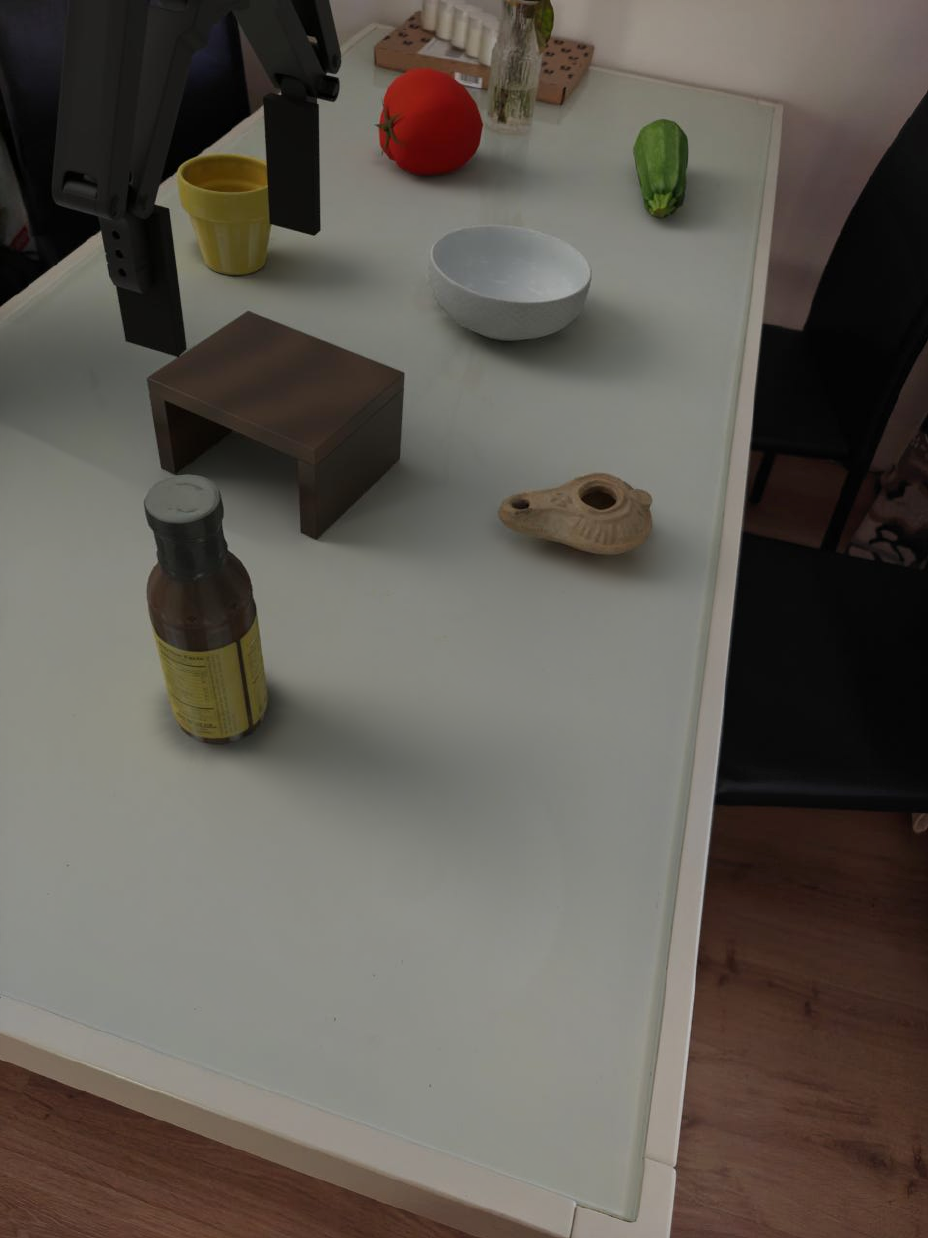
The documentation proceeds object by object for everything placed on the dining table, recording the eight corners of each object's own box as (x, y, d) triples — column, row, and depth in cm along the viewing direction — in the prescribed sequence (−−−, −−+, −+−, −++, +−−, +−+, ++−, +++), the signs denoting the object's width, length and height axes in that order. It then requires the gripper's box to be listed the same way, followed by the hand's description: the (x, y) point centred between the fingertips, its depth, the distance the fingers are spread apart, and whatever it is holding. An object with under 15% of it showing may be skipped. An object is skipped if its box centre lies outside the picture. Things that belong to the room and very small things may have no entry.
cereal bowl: (611, 345, 105) (625, 283, 100) (477, 380, 98) (485, 315, 93) (524, 271, 115) (533, 211, 109) (397, 298, 108) (400, 235, 103)
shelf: (160, 468, 85) (146, 377, 78) (254, 397, 93) (248, 309, 86) (316, 540, 80) (314, 450, 74) (400, 459, 88) (405, 372, 82)
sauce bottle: (231, 670, 70) (203, 441, 56) (288, 722, 68) (274, 496, 53) (153, 718, 67) (102, 488, 52) (210, 776, 64) (172, 549, 50)
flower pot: (248, 230, 115) (242, 143, 108) (301, 267, 110) (298, 179, 103) (169, 253, 110) (157, 163, 103) (221, 293, 105) (212, 202, 98)
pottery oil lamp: (486, 501, 85) (523, 427, 82) (608, 551, 88) (647, 481, 85) (498, 539, 77) (539, 459, 74) (631, 593, 80) (675, 517, 78)
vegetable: (681, 102, 133) (687, 164, 120) (692, 154, 138) (699, 219, 124) (627, 121, 136) (627, 183, 122) (640, 172, 140) (642, 237, 127)
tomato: (460, 176, 138) (375, 192, 133) (439, 77, 134) (350, 89, 129) (506, 155, 127) (415, 172, 122) (484, 46, 123) (390, 58, 118)
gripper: (50, -250, 25) (159, 435, 41) (421, -293, 42) (399, 204, 57) (-191, -294, 27) (3, 385, 42) (262, -319, 43) (282, 173, 59)
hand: (232, 281), depth 50 cm, fingers open, 13 cm apart
